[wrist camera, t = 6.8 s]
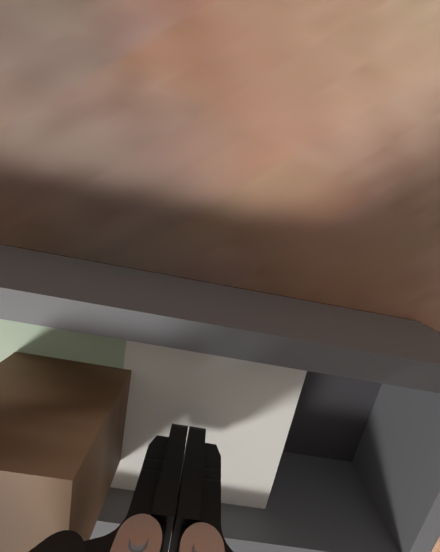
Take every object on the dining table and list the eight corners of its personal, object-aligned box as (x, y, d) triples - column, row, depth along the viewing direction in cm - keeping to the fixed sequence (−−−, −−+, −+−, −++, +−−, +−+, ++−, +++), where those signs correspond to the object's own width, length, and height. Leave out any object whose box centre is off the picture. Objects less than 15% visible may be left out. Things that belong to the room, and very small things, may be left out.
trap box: (418, 321, 16) (521, 378, 10) (358, 474, 18) (415, 582, 13) (-161, 214, 14) (-391, 218, 9) (-135, 400, 17) (-299, 488, 11)
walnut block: (131, 370, 12) (72, 480, 7) (120, 460, 13) (63, 608, 8) (15, 351, 12) (-128, 452, 7) (14, 445, 13) (-108, 587, 8)
